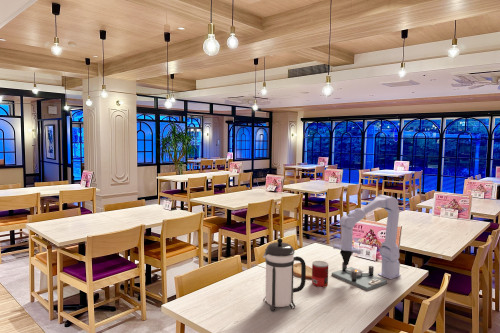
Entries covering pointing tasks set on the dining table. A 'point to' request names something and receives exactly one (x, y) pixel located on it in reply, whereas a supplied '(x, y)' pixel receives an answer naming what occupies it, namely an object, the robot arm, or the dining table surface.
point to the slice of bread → (298, 271)
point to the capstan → (357, 272)
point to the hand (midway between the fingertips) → (346, 264)
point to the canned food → (320, 273)
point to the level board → (360, 279)
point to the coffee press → (281, 274)
